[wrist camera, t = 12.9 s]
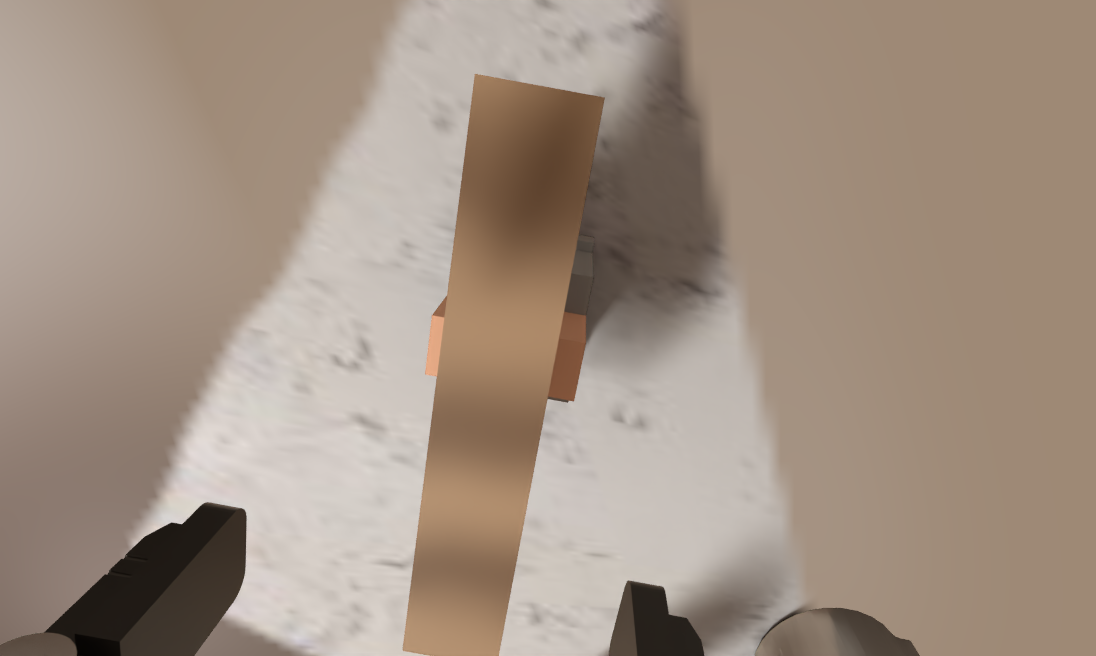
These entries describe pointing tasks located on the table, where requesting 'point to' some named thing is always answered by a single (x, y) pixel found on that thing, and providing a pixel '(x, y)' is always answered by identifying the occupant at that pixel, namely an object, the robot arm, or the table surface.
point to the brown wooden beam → (497, 355)
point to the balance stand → (570, 333)
